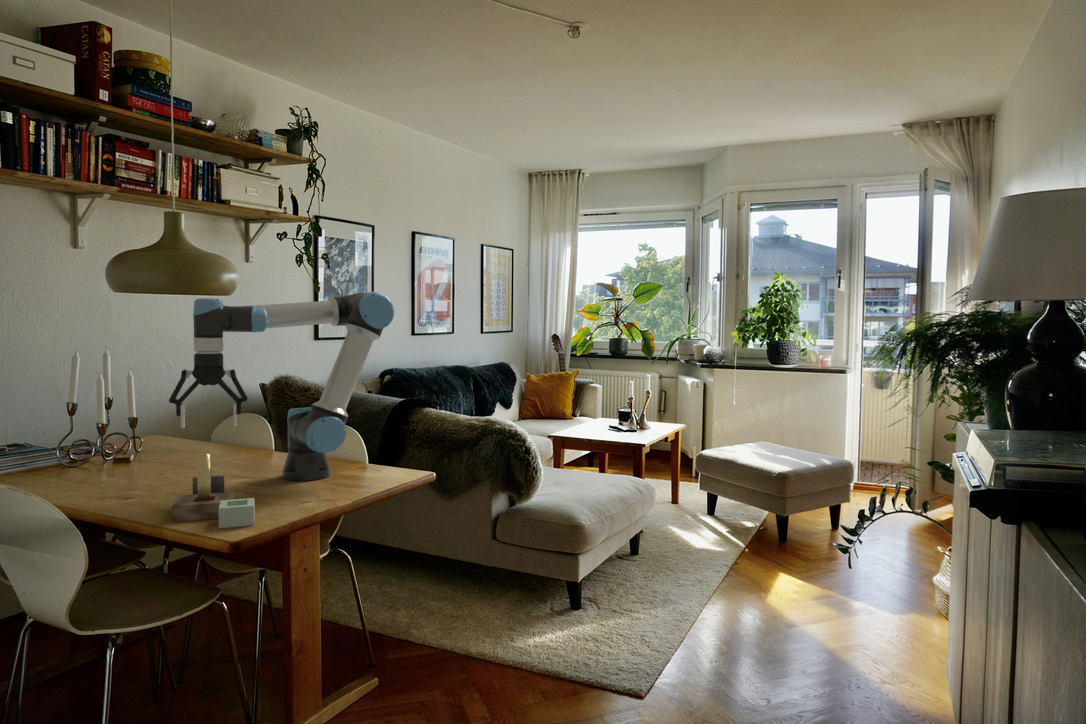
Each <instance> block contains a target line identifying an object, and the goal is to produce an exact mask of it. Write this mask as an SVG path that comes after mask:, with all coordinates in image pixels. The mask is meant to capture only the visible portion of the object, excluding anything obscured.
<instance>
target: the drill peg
mask: <svg viewBox="0 0 1086 724" xmlns="http://www.w3.org/2000/svg"><path fill="white" fill-rule="evenodd" d="M211 456H212V455H211V453H209V452H203V453H202V452H201V453H198V454H197V453H196V459H197V460H196V464H197V465H196V467H197V476H196V477H198V501H211V476H212V461H211V460H212V459H211V458H212V457H211Z"/></svg>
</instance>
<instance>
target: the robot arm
mask: <svg viewBox="0 0 1086 724" xmlns="http://www.w3.org/2000/svg"><path fill="white" fill-rule="evenodd" d="M223 302H224V301H223V300H222V299H220V298H205V297H202V298H195V300H194V302H193V313H192V315H193V317H192V318H193V351H194V352H195V353H194V355H193V370H188V369H186V368H185V369H183V370H181V373H180V379H179V380H178V382H177V384H176V385H175V388H174V390H173V392H172V393H171V396H170V398H169V399H168V402H169V403H171V404H174V405H175V408H176V409H175V411H176V413H175V414H176V416H177V417H180V429H185V427H186V404H185V403H184V401H185V400H186V399H187V398H188V396H190V395H191V393H192V392H193V391H194V390H195V389H196V388H197V387H198V385H201V386H203V387H204V386H217V385H219V386H220V387H221V388H222V389H223V390H224V391H225V392H226V393H227V394H228V396H230V398H231V399H232V400H233V401H234V403H233V413H232V414H233V427H237V426H238V415H241V413H242V403H245V402H247V401H248V400H249V399H248V396H247V394H246V392H245V391H244V389H243V386H242V385H241V383H240V381H239V380H238V378H237V373H236V369H235V368H232V369H227V370H226V369H225V367H224V354H223V353H222V352H223V351H224V333H230V332H231V333H262V332H265V331H266V330H267V329H275V328H276V329H277V328H289V327H302V326H314V325H316V326H317V325H327V324H329V325H331V326H332V327H336V326H337V327H339V326H341V327H342V326H345V328H346V329H347V332H346V335H345V337H344V340H343V343H342V345H341V347H340V350H339V351H338V355H337V356H336V357H337V358H336V360H335V362H334V364H333V366H332V369H331V372H330V374H329V377H328V378H327V379H328V380H327V381H326V384H325V386H324V388H323V392H322V393H321V396H320V398H319V400H318V401H316V402H314V403H312V404H311V407H297V408H294V407H293V408H290V409H289V410H288V411H287V418H286V420H287V455H286V458H285V462H284V465H283V467H282V472H281V473H282V474H281V475H282V479H284V480H286V481H296V482H299V481H301V482H302V481H315V480H321V479H325V478H328V477H330V476H331V467H330V463H329V461H328V457H327V453H332V452H334V451H335V452H336V450H338V449H339V448H340V447H342V445H343V444H344V442H345V440H346V437H347V428H346V427H347V426H346V423H347V420H348V419H349V418H348V417H349V414H348V412H347V407H348V404H349V402H350V400H351V397H352V396H353V393H354V390H355V387H356V385H357V382H358V380H359V378H360V375H361V373H362V370H363V367H364V365H365V362H366V360H367V357H368V355H369V352H370V350H371V348H372V345H373V342H374V341H376V340H379V339H380V338H381V335H382V333H383V330H384V328H386V327H388V326H389V325H390V324H391V323H392V322H393V320H394V316H395V308H394V305H393V303H392V301H391V299H390V298H389V297H388V296H387V295H385V294H383V293H382V292H376V291H368V292H355V293H352V294H348V295H344V296H343V295H342V296H335V297H329V298H328V300H318V301H304V302H303V301H302V302H301V301H300V302H290V303H289V302H287V303H273V304H272V303H271V304H257V305H255V304H254V305H242V306H241V305H240V306H239V305H238V306H234V305H231V306H230V305H229V306H228V305H224V303H223ZM191 375H192V376H193V378H194V379H195V380H194V382H193V383H192V384H191V385H190V386H189V387H188V388H187V390H185V392H184V393H183V394H182V395H181V396H180V397H179V398H177V397H178V395H179V393H180V392H181V390H182V388H183V386H184V385H185V382H186V381H187V379H188V378H190V376H191ZM224 376H227V377H228V378H230V379H231V381H232V383H233V385H234V386H235V389H236V390H237V392H238V394H239V395H240V397H239V396H238V395H237V394H236V393H235V392H234V391H233V389H232V388H231V387H230V386H229V385H227V383H226V382H225V381H224V379H223V377H224Z"/></svg>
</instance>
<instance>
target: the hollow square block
mask: <svg viewBox="0 0 1086 724" xmlns="http://www.w3.org/2000/svg"><path fill="white" fill-rule="evenodd" d="M255 500H256V499H255V497H249V498H237V499H236V498H235V499H233V500H221V502H220V505H219V518H218V529H223V528H224V529H225V528H227V529H228V528H240V527H250V526H254V525H255V520H256V519H255V517H256V515H255V514H256V508H255V507H256V506H255V504H256V502H255Z"/></svg>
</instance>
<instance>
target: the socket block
mask: <svg viewBox="0 0 1086 724" xmlns="http://www.w3.org/2000/svg"><path fill="white" fill-rule="evenodd" d="M235 495H236V493H235V491H229V492H225V493H212V494H211V501H198V494H197V495H193V494H183V495H178V496H176V498H175V500H174V502H173V503H172V505H171V522H172V523H173V522H174V523H175V522H185V521H197V520H211V519H219V505H220V502H221V500H233V499H236V497H235Z"/></svg>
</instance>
